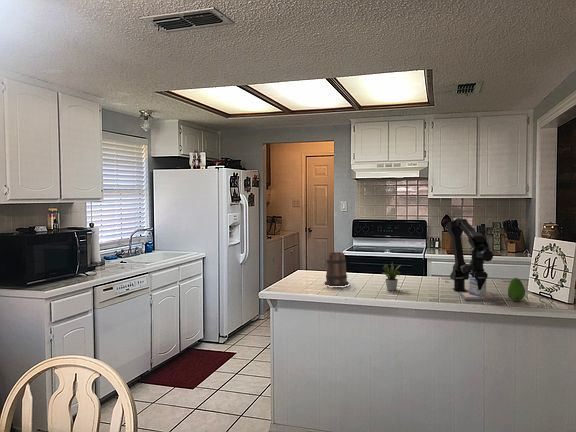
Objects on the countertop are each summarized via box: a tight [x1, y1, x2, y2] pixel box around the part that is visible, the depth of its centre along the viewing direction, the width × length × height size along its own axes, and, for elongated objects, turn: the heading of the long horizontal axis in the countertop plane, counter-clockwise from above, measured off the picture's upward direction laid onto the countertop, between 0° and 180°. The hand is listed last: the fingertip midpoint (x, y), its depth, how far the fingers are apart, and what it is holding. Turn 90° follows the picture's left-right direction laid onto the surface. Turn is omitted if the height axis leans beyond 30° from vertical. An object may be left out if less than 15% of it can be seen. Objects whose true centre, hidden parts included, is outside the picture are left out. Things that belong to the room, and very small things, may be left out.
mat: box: [458, 291, 499, 302], centre depth 257 cm, size 16×16×1 cm
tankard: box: [323, 251, 350, 286], centre depth 304 cm, size 24×17×20 cm
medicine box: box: [468, 277, 487, 297], centre depth 257 cm, size 8×4×9 cm, turn 24°
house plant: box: [378, 261, 401, 292], centre depth 282 cm, size 14×14×16 cm
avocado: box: [507, 277, 526, 302], centre depth 246 cm, size 8×8×12 cm
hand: (477, 288), depth 257 cm, fingers open, 9 cm apart
